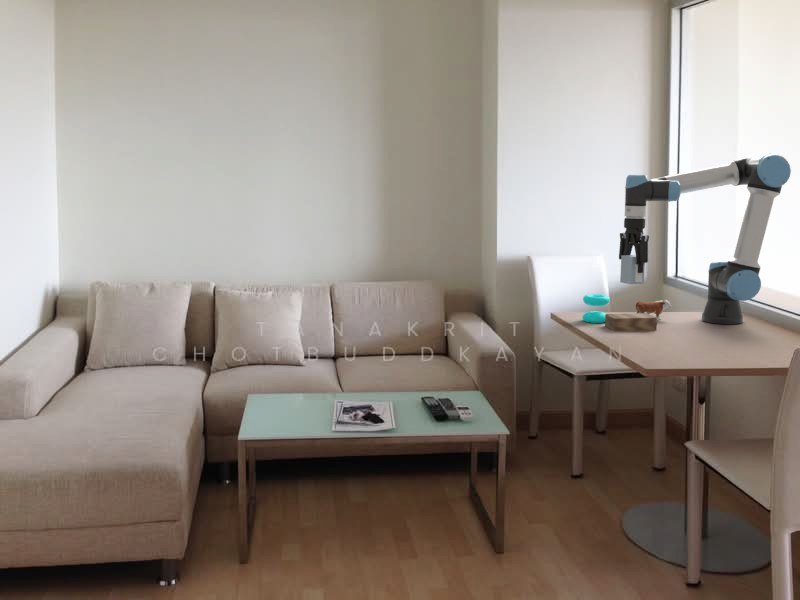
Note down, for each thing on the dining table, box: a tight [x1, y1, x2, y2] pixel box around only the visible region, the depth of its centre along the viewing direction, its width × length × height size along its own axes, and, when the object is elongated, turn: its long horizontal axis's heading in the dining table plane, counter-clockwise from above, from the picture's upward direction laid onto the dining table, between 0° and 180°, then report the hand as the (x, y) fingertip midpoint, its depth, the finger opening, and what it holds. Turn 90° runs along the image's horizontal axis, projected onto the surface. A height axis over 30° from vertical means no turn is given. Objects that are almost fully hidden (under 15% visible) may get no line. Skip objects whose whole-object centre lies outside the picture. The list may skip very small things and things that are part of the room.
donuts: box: [581, 293, 611, 324], centre depth 369 cm, size 10×10×10 cm
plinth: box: [604, 312, 658, 332], centre depth 355 cm, size 16×10×5 cm, turn 98°
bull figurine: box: [635, 299, 672, 322], centre depth 372 cm, size 4×13×8 cm, turn 81°
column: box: [619, 254, 646, 285], centre depth 352 cm, size 6×6×10 cm
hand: (632, 280), depth 353 cm, fingers closed on column, 6 cm apart
